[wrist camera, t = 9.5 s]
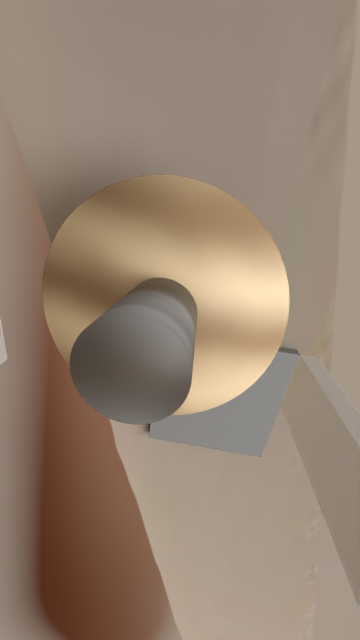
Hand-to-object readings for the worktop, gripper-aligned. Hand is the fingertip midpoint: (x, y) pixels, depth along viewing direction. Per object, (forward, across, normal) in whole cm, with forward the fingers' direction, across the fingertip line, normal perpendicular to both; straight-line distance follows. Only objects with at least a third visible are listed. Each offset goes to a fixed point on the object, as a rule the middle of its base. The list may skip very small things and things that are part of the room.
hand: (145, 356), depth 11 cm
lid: (+6, 0, 0) cm, 6 cm away
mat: (+18, +7, -16) cm, 25 cm away
